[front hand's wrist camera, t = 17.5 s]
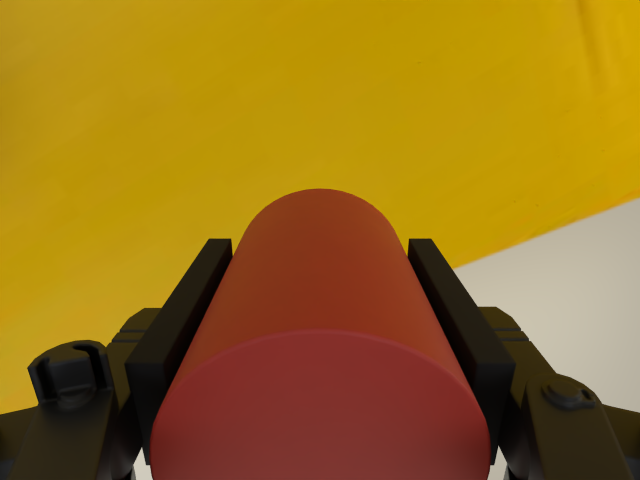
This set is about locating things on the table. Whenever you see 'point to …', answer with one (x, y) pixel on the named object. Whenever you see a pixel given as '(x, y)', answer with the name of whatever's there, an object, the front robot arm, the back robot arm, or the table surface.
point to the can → (320, 362)
